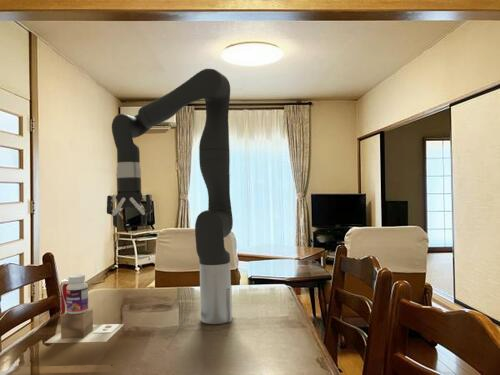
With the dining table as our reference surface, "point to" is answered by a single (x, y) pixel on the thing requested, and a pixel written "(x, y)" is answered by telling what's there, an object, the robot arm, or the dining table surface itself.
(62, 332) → the walnut cube
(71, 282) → the pill bottle
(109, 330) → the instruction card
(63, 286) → the soda can
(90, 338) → the board
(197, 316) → the dining table surface
